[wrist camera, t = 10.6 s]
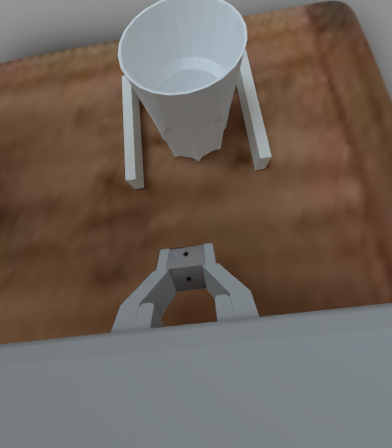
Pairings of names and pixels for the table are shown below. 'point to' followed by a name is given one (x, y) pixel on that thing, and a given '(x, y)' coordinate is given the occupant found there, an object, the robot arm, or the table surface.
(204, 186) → the table surface
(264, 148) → the white u-shaped frame
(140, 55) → the cup
